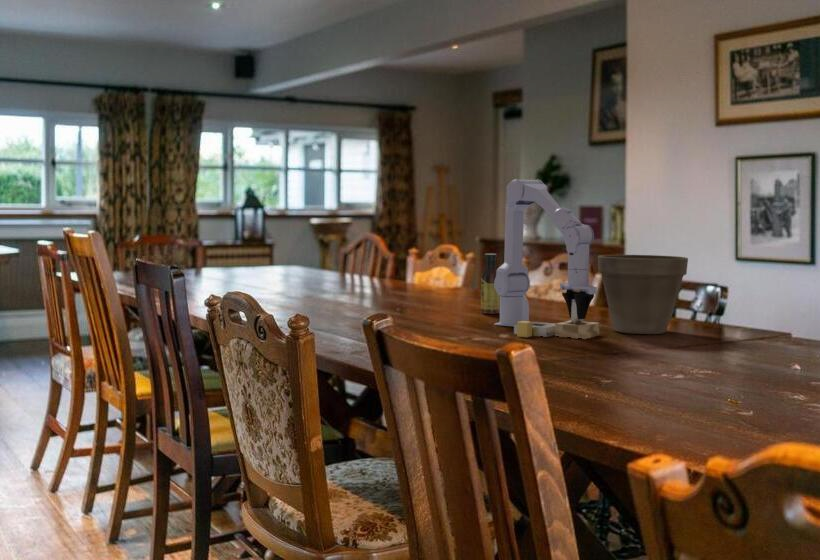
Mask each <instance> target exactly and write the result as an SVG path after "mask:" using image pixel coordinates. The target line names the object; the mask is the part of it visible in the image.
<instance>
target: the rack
mask: <svg viewBox="0 0 820 560" xmlns="http://www.w3.org/2000/svg"><path fill="white" fill-rule="evenodd" d="M554 324H555V335H554V336H555V337H556V336H559V337H558V338H567V337H571V339H578V338H582V340H587V338H588V339H591V338H595V337H598V336H600V322H596V321H595V322H593V321H583V325H578V324H571V319H570V320H567V321H566V320H565V321H562V322H557V323H554Z"/></svg>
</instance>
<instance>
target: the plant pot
mask: <svg viewBox="0 0 820 560" xmlns="http://www.w3.org/2000/svg"><path fill="white" fill-rule="evenodd" d="M688 261H689V258H688V257H685V256H678V255H677V256H676V255H675V256H674V255H673V256H672V255H661V254H660V255H657V254H654V255H653V254H652V255H651V254H603V255H598V256H597V267H598V269H597V270H598V274H601V279H602V283H603V287H604V292H605V296H606V301H607V306H608V309H609V314H610V320H611V324H612V327H613V330H614V331H615V332H619V333H625V334H631V335H632V334H633V335H635V334H636V335H660V334H665V333H666V332H667V330H668V327H669V324H670V321H671V319H672V315H673V312H674V309H675V306H676V303H677V302H676V301H677V299H678V295H679V292H680V289H681V286H682V282H683V277H684V276H686V275H687V272H688V271H687V270H688V264H689V263H688Z"/></svg>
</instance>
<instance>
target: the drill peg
mask: <svg viewBox="0 0 820 560" xmlns="http://www.w3.org/2000/svg"><path fill="white" fill-rule="evenodd" d="M570 321H571V324H578V325H583V322H584V319H578V317H577V306H576V301H575V299H571V318H570Z"/></svg>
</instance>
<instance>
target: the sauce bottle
mask: <svg viewBox="0 0 820 560" xmlns="http://www.w3.org/2000/svg"><path fill="white" fill-rule="evenodd" d="M483 257H484V258H483V259H484V268H483V272H482V274H481V277H480V308H481V313H482V314H483V315H484V314H485V315H496V314H500V296H499V295H498V293H497V292H496V290H495V287H494V281H495V278H496V273H497V269H498V268H497V258H498V254H497V253H484V256H483Z"/></svg>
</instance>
